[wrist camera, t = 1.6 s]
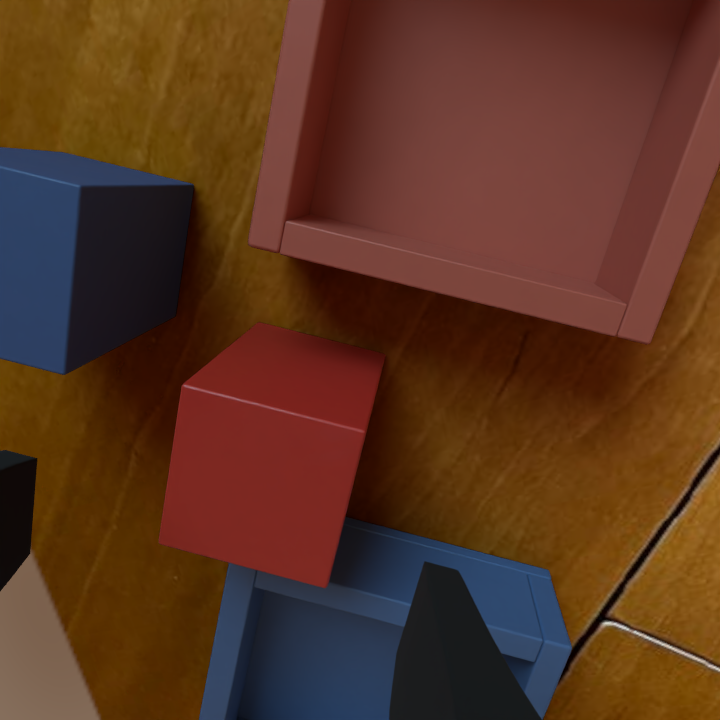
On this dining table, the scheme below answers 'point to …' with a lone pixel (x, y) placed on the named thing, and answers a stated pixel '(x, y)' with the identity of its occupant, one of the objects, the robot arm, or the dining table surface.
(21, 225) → the blue block
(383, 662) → the blue bin
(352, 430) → the red block
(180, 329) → the dining table surface
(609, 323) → the red bin
